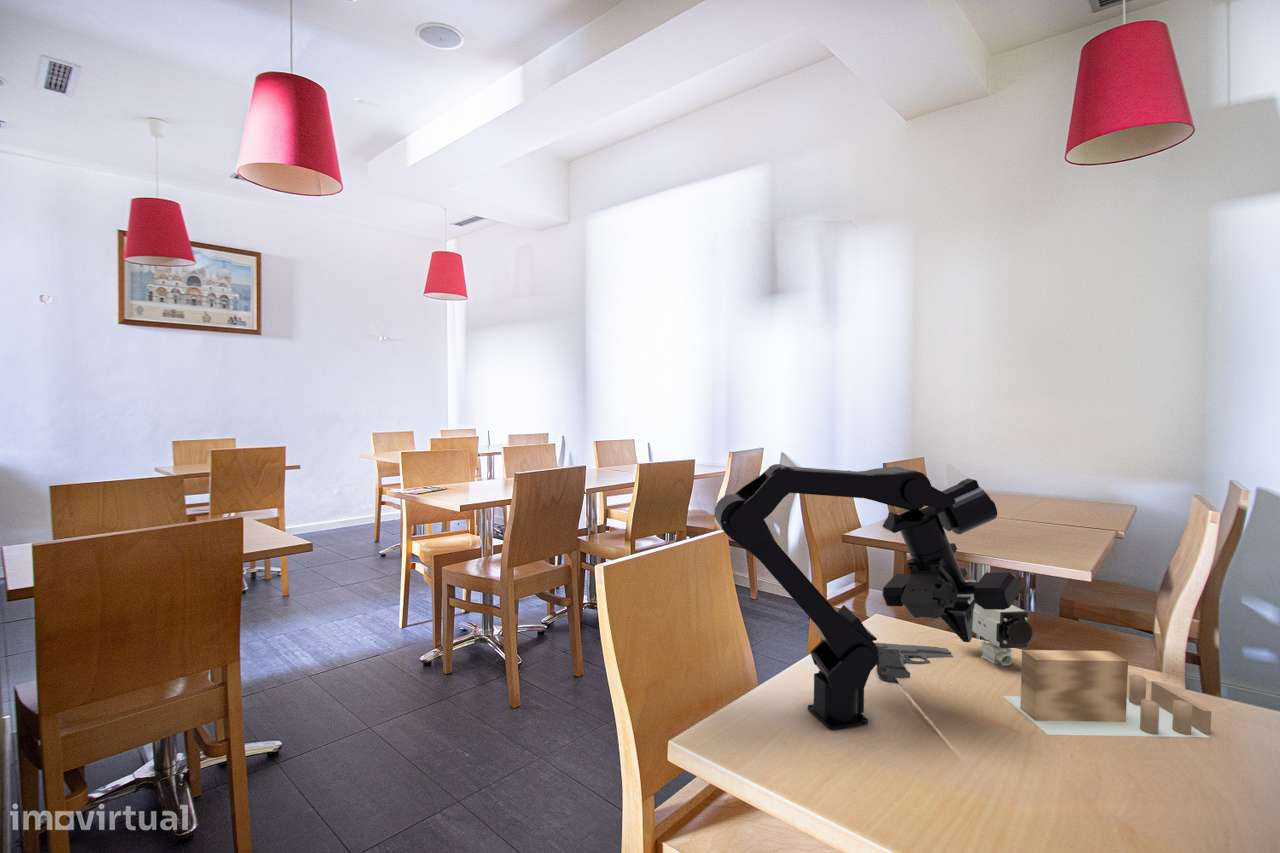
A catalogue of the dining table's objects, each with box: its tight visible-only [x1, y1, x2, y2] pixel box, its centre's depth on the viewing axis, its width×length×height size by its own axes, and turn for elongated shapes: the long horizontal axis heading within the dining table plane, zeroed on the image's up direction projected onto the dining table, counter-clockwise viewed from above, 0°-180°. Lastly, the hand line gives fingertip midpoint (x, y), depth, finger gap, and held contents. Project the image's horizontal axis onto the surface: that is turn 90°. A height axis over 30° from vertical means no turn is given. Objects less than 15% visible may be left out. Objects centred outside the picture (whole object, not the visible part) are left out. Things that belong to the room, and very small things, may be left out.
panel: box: [1002, 673, 1212, 739], centre depth 90 cm, size 23×11×5 cm, turn 88°
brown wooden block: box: [1020, 649, 1129, 722], centre depth 90 cm, size 13×4×9 cm, turn 88°
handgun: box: [874, 642, 954, 683], centre depth 108 cm, size 3×16×12 cm
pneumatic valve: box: [972, 604, 1033, 667], centre depth 109 cm, size 6×12×12 cm, turn 6°
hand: (967, 640), depth 91 cm, fingers closed
